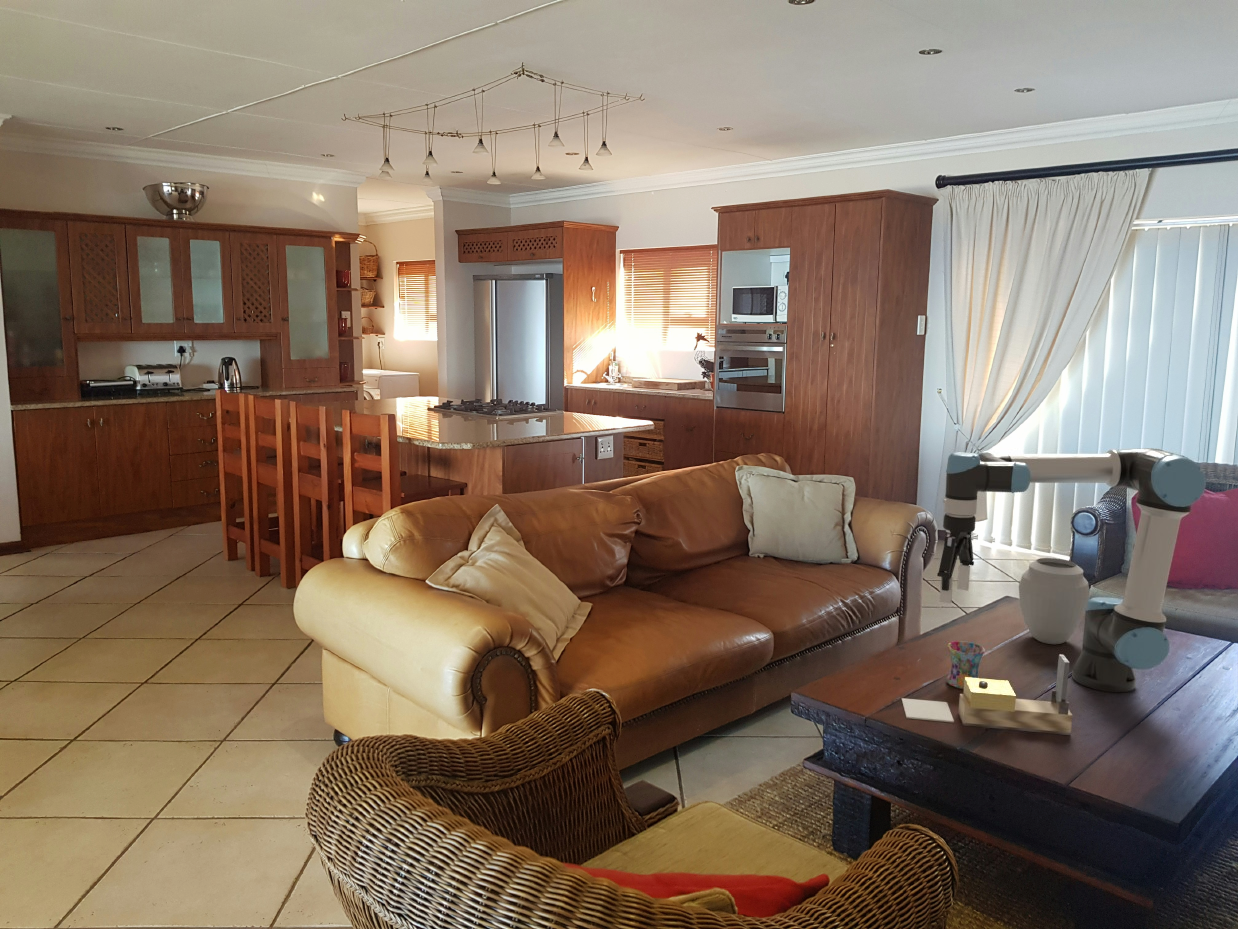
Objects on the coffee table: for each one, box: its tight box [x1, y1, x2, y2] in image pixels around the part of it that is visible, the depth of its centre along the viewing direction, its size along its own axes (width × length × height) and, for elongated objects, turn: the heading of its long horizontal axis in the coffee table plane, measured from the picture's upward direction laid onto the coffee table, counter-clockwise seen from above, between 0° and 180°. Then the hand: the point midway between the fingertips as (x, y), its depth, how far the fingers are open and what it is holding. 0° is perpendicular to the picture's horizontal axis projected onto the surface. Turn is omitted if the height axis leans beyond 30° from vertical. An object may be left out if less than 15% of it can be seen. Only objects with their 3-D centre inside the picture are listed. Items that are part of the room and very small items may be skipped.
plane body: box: [957, 689, 1073, 736], centre depth 220 cm, size 24×7×8 cm, turn 79°
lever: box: [1054, 654, 1070, 705], centre depth 217 cm, size 1×5×12 cm, turn 169°
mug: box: [946, 640, 986, 690], centre depth 243 cm, size 12×9×11 cm
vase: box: [1018, 557, 1091, 645], centre depth 276 cm, size 20×20×24 cm
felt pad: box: [901, 697, 955, 723], centre depth 227 cm, size 11×11×1 cm
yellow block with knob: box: [962, 677, 1017, 712], centre depth 221 cm, size 10×9×5 cm
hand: (954, 596), depth 233 cm, fingers open, 13 cm apart
